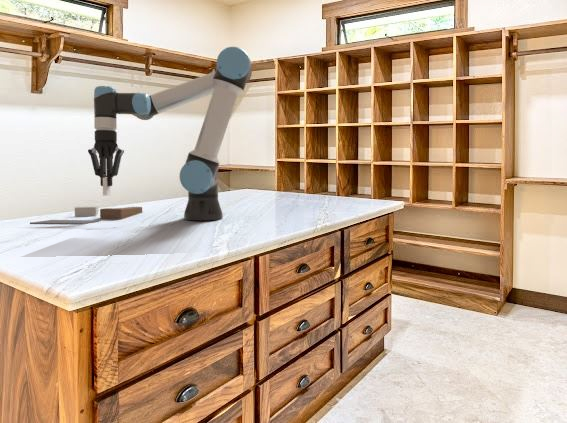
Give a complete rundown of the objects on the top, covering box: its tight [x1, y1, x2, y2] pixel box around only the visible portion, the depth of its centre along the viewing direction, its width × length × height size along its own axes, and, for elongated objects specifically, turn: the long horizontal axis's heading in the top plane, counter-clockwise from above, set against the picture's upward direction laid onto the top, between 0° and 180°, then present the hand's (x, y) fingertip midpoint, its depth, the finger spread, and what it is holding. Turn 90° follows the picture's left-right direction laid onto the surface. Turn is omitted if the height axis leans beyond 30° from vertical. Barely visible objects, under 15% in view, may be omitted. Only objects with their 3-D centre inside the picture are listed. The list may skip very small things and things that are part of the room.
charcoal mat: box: [29, 219, 102, 225], centre depth 176 cm, size 20×13×1 cm, turn 83°
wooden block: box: [99, 206, 143, 220], centre depth 194 cm, size 9×4×18 cm
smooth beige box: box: [74, 205, 99, 217], centre depth 196 cm, size 8×8×5 cm
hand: (106, 195), depth 173 cm, fingers closed
